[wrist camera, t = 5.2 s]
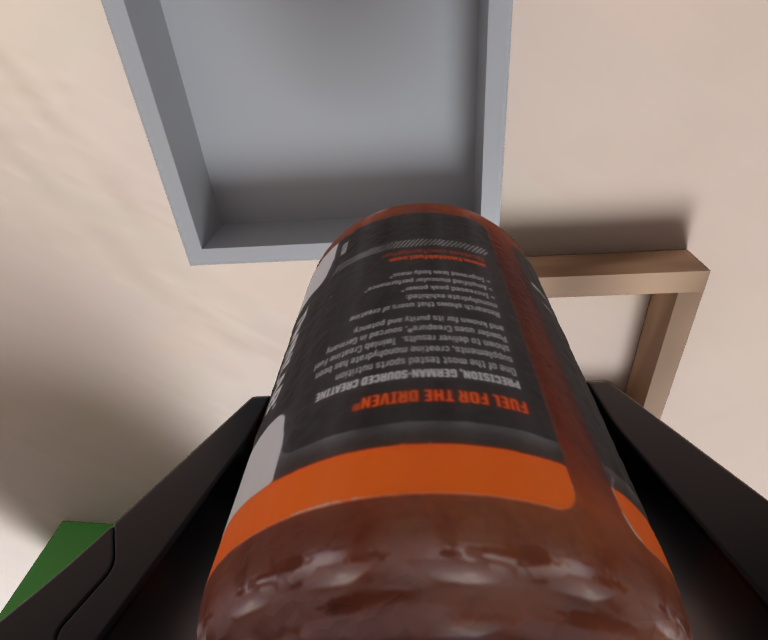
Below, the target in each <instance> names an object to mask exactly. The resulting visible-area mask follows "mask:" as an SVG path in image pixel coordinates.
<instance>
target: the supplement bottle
mask: <svg viewBox="0 0 768 640" xmlns="http://www.w3.org/2000/svg"><path fill="white" fill-rule="evenodd" d="M196 640H694V639H693V634H692V630H691V626H690V622H689V619H688V616H687V614H686V611H685V608H684V606H683V603H682V601H681V597H680V592H679V589H678V586H677V584H676V581H675V579H674V576H673V574H672V572H671V569H670V567H669V565H668V562H667V560H666V558H665V555H664V553H663V551H662V548H661V546H660V544H659V542H658V540H657V538H656V536H655V534H654V532H653V530H652V528H651V526H650V524H649V521H648V518H647V515H646V513H645V511H644V508H643V506H642V504H641V502H640V500H639V498H638V496H637V493H636V491H635V489H634V486H633V484H632V482H631V480H630V479H629V476H628V474H627V471H626V469H625V466H624V464H623V462H622V460H621V458H620V457H619V455H618V452H617V450H616V447H615V445H614V443H613V441H612V439H611V437H610V434H609V432H608V430H607V428H606V425H605V422H604V420H603V418H602V416H601V414H600V412H599V410H598V407H597V405H596V402H595V400H594V398H593V396H592V394H591V392H590V389H589V387H588V385H587V384H586V381H585V379H584V377H583V374H582V372H581V370H580V368H579V366H578V364H577V362H576V360H575V358H574V355H573V353H572V351H571V349H570V346H569V344H568V341H567V339H566V337H565V334H564V333H563V331H562V329H561V327H560V325H559V323H558V321H557V318H556V316H555V313H554V311H553V309H552V308H551V305H550V303H549V301H548V298H547V296H546V294H545V292H544V290H543V288H542V286H541V283H540V281H539V279H538V276H537V274H536V273H535V271H534V269H533V267H532V265H531V263H530V262H529V261H528V259H527V258H526V256H525V255H524V253H523V252H522V250H521V249H520V247H519V246H518V245H517V244H516V243H515V241H514V240H513V239H512V238H511V237H510V236H509V235H508V234H507V233H506V232H505V231H503V230H502V229H501V228H500V227H498V226H497V225H496V224H494V223H492V222H491V221H489V220H487V219H486V218H484V217H482V216H480V215H478V214H476V213H474V212H472V211H470V210H467V209H465V208H461V207H456V206H452V205H446V204H435V203H415V204H405V205H399V206H394V207H390V208H387V209H384V210H381V211H378V212H376V213H374V214H372V215H369V216H367V217H364V218H362V219H361V220H359V221H358V222H356V223H355V224H353V225H352V226H350V227H349V228H348V229H346V230H345V231H344V232H343V233H342V234H341V235H340V236H339V237H338V238H337V239H336V240H335V241H334V242H333V243H332V244H331V246H330V247H329V248H328V249H327V250H326V252H325V253H324V255H323V257H322V258H321V260H320V262H319V264H318V265H317V268H316V270H315V272H314V274H313V276H312V278H311V281H310V283H309V286H308V289H307V292H306V295H305V297H304V301H303V304H302V306H301V309H300V312H299V315H298V318H297V320H296V323H295V325H294V328H293V331H292V336H291V338H290V342H289V345H288V348H287V350H286V353H285V355H284V359H283V362H282V364H281V367H280V370H279V372H278V376H277V379H276V382H275V385H274V388H273V390H272V394H271V397H270V400H269V403H268V406H267V409H266V411H265V415H264V418H263V421H262V423H261V425H260V428H259V430H258V432H257V435H256V438H255V441H254V445H253V450H252V453H251V455H250V458H249V460H248V463H247V466H246V469H245V472H244V475H243V478H242V481H241V484H240V487H239V490H238V493H237V495H236V498H235V501H234V504H233V507H232V510H231V513H230V516H229V519H228V521H227V524H226V527H225V530H224V533H223V536H222V540H221V543H220V546H219V549H218V552H217V554H216V557H215V560H214V563H213V565H212V568H211V571H210V574H209V577H208V580H207V583H206V586H205V589H204V593H203V597H202V602H201V606H200V611H199V615H198V621H197V630H196Z"/></svg>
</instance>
